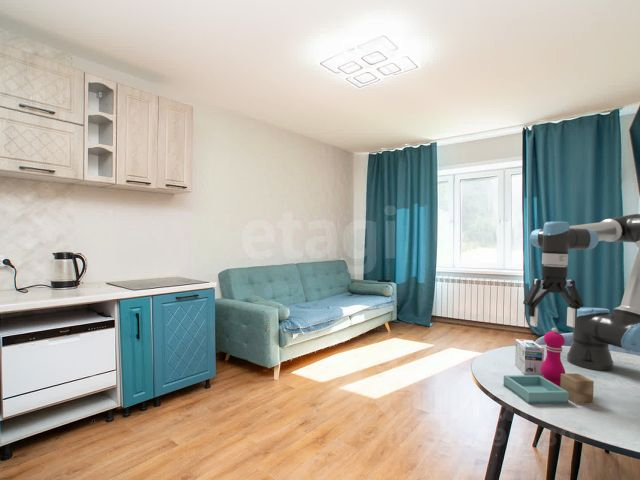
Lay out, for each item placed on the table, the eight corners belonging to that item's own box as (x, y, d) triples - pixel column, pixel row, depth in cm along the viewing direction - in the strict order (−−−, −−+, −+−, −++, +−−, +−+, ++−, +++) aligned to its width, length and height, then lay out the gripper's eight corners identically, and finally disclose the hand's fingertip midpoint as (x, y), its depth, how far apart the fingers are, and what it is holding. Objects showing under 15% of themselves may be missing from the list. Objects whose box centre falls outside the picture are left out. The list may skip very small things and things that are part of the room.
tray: (539, 385, 120) (539, 375, 120) (568, 403, 107) (568, 392, 107) (503, 385, 120) (503, 375, 119) (528, 403, 107) (528, 392, 107)
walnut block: (577, 394, 114) (578, 373, 114) (592, 403, 108) (593, 381, 108) (560, 394, 113) (560, 373, 113) (574, 403, 107) (575, 381, 107)
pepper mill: (537, 383, 121) (539, 327, 121) (543, 378, 126) (545, 323, 126) (562, 391, 116) (564, 331, 116) (567, 384, 121) (569, 328, 121)
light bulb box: (544, 377, 128) (545, 348, 128) (524, 375, 129) (525, 346, 129) (532, 366, 138) (533, 339, 138) (514, 365, 140) (514, 338, 139)
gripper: (527, 265, 117) (525, 328, 117) (597, 267, 118) (595, 329, 118) (513, 263, 124) (511, 322, 124) (579, 265, 126) (577, 323, 126)
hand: (552, 326), depth 121 cm, fingers open, 13 cm apart
